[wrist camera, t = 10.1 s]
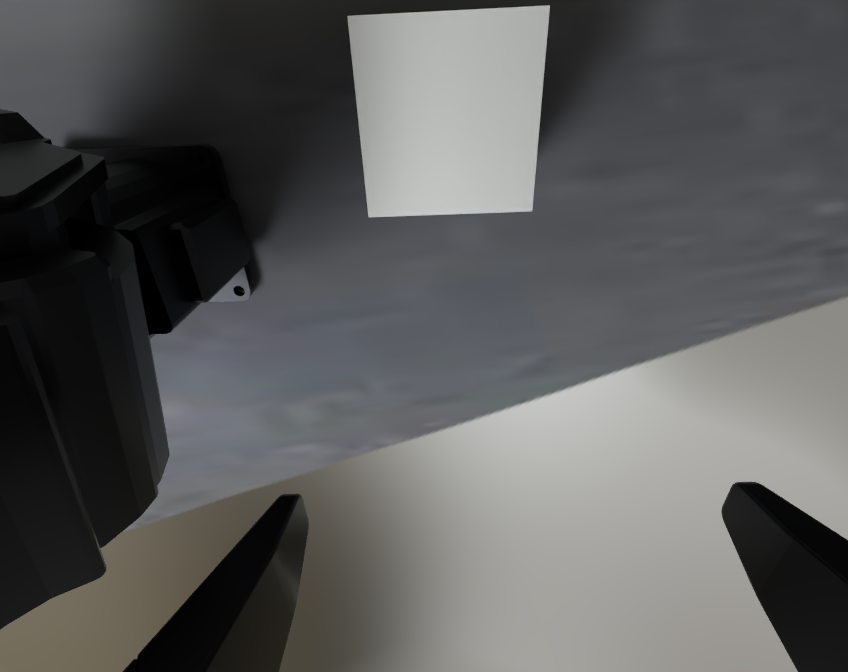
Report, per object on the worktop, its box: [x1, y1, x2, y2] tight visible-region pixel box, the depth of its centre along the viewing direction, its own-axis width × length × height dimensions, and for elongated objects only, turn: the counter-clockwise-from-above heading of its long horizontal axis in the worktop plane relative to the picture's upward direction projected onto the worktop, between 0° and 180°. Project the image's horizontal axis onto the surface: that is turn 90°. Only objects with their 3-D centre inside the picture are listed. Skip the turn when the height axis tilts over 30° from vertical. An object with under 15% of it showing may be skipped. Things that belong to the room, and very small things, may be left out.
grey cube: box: [347, 5, 550, 217], centre depth 14 cm, size 5×5×5 cm
